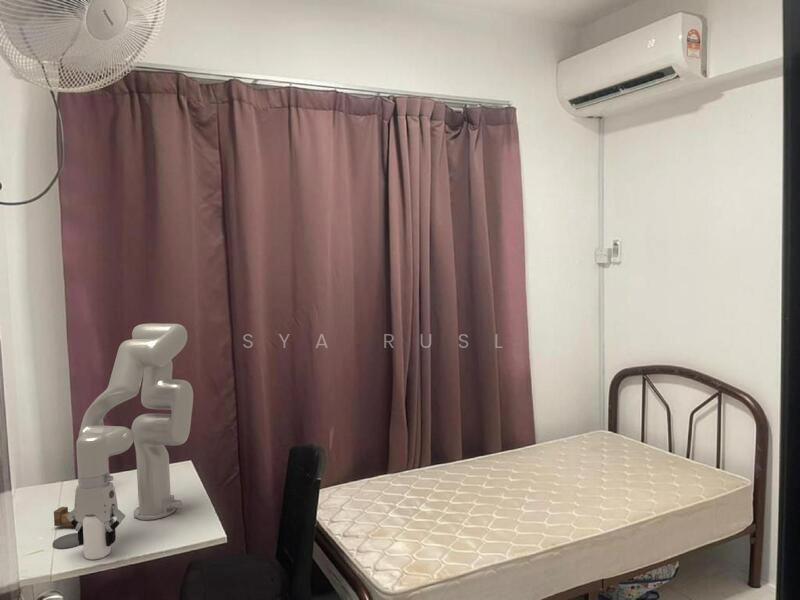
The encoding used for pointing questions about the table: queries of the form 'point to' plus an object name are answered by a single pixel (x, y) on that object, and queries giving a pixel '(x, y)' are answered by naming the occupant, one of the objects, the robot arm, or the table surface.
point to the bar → (61, 517)
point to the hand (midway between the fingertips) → (97, 543)
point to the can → (94, 538)
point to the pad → (66, 541)
